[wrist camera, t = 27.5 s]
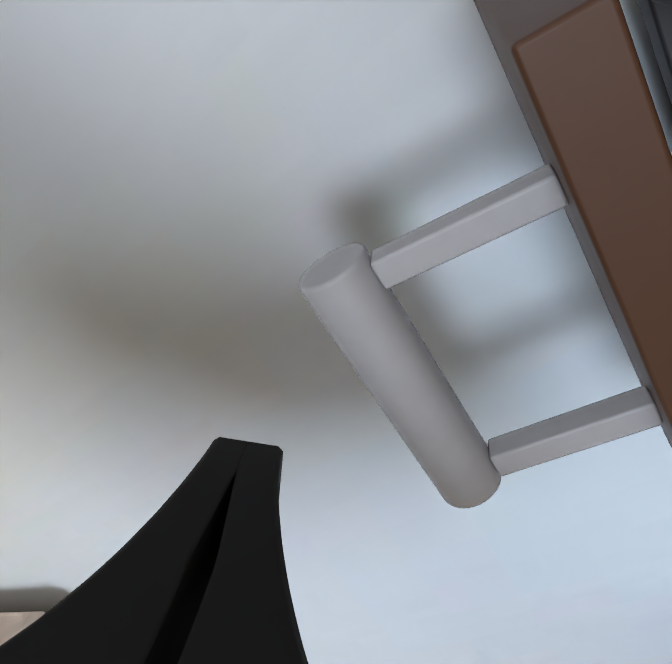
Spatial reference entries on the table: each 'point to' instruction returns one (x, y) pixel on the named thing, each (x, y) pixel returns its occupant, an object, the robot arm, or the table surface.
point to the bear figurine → (16, 623)
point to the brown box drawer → (519, 210)
